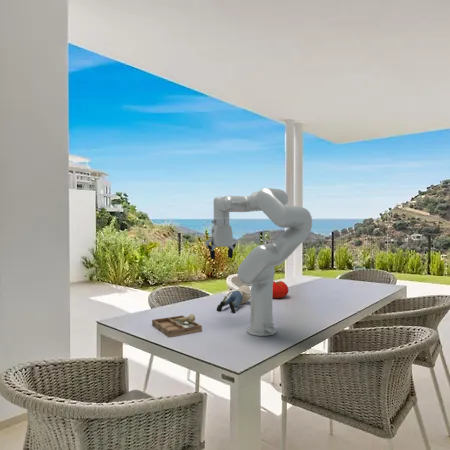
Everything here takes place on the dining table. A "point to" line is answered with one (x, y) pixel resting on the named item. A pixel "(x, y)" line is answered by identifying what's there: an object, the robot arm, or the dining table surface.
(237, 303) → the toy
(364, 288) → the dining table surface
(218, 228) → the robot arm
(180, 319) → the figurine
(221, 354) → the dining table surface
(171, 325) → the wooden compartment tray
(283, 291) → the tomato
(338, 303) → the dining table surface
